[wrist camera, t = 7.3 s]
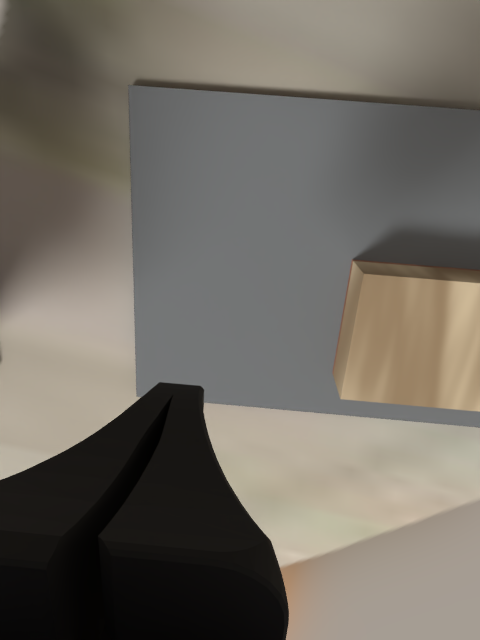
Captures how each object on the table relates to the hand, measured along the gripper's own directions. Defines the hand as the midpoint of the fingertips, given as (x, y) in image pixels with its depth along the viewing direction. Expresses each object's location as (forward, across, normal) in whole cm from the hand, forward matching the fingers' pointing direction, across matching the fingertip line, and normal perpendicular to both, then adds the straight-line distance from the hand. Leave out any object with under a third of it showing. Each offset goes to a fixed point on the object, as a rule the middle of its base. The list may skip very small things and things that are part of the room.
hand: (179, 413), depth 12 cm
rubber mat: (+9, -6, -2) cm, 11 cm away
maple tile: (+8, -6, 0) cm, 10 cm away
